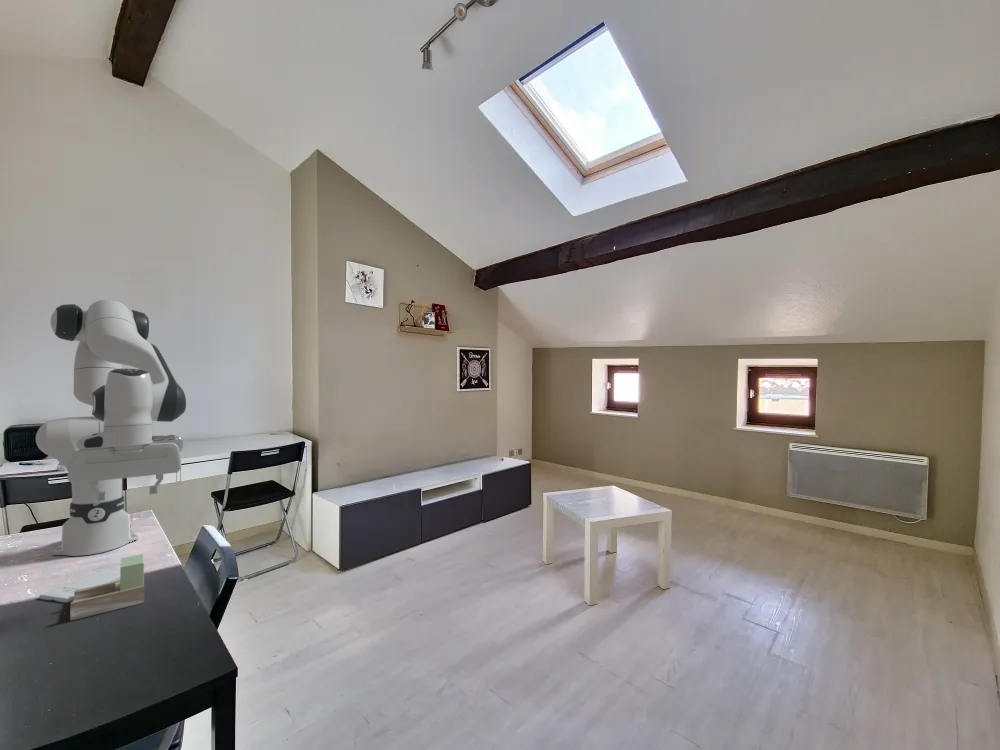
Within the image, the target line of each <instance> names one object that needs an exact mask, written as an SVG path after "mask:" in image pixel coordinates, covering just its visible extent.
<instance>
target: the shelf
mask: <svg viewBox="0 0 1000 750" xmlns="http://www.w3.org/2000/svg"><path fill="white" fill-rule="evenodd" d="M143 603H145V584H144V585H143V586H139V587H134V588H130V589H126V590H121V591H120V580H119V581H115V582H111V583H106V584H102V585H97V586H93V587H88V588H84V589H79V590H76V591H74V600H72V601H70V613H69V615H70V617H69V619H70V620H69V621H70V622H72V621H75V620H79V619H84V618H87V617H92V616H95V615H100V614H103V613H108V612H112V611H115V610H120V609H123V608H128V607H131V606H135V605H139V604H143Z"/></svg>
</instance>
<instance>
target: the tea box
mask: <svg viewBox="0 0 1000 750" xmlns="http://www.w3.org/2000/svg"><path fill="white" fill-rule="evenodd" d="M143 555H144V554H143V553H141V554H140V553H139V554H137V555H131V556H130V555H129V556H125V557H122V558H121V557H120V570H119V571H120V573H119V574H120V580H119V581H120V591H121V590H126V589H130V588H134V587H139V586H143V585H144V586H145V559H144V558H145V557H144V556H143Z"/></svg>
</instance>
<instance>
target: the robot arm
mask: <svg viewBox="0 0 1000 750" xmlns="http://www.w3.org/2000/svg"><path fill="white" fill-rule="evenodd" d="M50 326H51V328H52V331H53V332H54V335H55V336H56V337H57V338H58V339H60V340H64V341H70V342H74V341H76V342H77V341H78V345H77V346H76V347H77V348H76V353H75V356H74V363H73V364H74V365H73V395H74V397H75V399H76V400H78V401H79V402H81V403H83V404H86V405H89V406H92V411H91V415H92V416H71V417H70V416H69V417H63V418H59V419H53V420H52V419H51V420H48V421H46V422H44V423H43V424H41V426H40V427H39V428H38V430H37V432H36V434H35V443H36V446H37V448H38V449H39V450H40V452H42V453H43V454H44V455H47V456H49V457H51V458H54V459H55V460H56V461H58V462H59V463H61V465H62V466H63V467H64V468H65V469H66V471H67V481H68V482H69V483H70V484H71V502H70V504H69V509H68V510H69V516H70V517H69V518H68V519H67V520H66V521H65V522H64V523H63V524H62V527H61V544H59V545H58V546H57V547H56V548H55V549H53V550H52V553H51V554H52V556H70V557H72V556H73V557H79V556H87V555H89V556H90V555H94V554H100V553H104V552H109V551H113V550H115V549H119V548H121V547H123V546H125V545H127V544H129V542H130V543H133V542H135V541H134V540H136V541H138V540H139V536H138V535H137V534H136V533H135V532H133V530H131V527H132V526H131V525H132V524H131V514H129V513H128V512H127V511H125V510H124V508H125V497H124V495H123V479H129V478H139V477H148V476H155V479H156V481H155V483H154V484H153V485H150V486H149V495H157V494H158V487H159V486H160V484H161V483H162V482H163V480H164V475H168V474H175V473H176V474H177V473H179V472H180V471H181V470H182V459H181V458H182V457H181V453H180V452H182V451H183V448H184V440H183V439H182V437H180V436H176V434H169V435H154V431H155V430H154V425H153V422H162V423H163V422H165V423H166V422H168V423H169V422H174V421H175V420H176V419H178V418H179V417H181V416H182V415H184V413H185V412H186V409H187V399H186V398H187V397H186V395H185V391H184V389H183V388H182V387H181V386H180V384H179V383H178V382H177V381H176V379H175V377H174V375H173V373H172V372H171V371H172V370H170V368H169V366H168V364H167V362H166V360H165V359H164V356H163V354H162V353H161V352H160V349H159V348H158V347H157V346H156V345H154V344H153V343H151V342H149V341H147V340H148V337H149V336H150V334H151V329H152V328H151V322H150V319H149V317H148V315H147V314H146V313H145V312H142V311H137V310H134V309H132V310H130V309H129V308H128V307H127V305H126V304H124V303H122V302H120V301H117V300H114V299H101V300H97V301H94V302H93V303H92V304H91V305H76V304H75V303H73V304H71V303H69V304H60V306H57V307H56V308H55V310H54V311H53V312H52V315H51V316H50ZM123 366H128V367H132V368H123ZM137 539H138V540H137ZM132 541H133V542H132Z"/></svg>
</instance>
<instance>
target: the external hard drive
mask: <svg viewBox="0 0 1000 750" xmlns="http://www.w3.org/2000/svg"><path fill="white" fill-rule="evenodd" d="M115 581H120V573H118V572H117V573H115V572H109V571H101V570H100V571H97V572H95V573H92V574H90V575H87V576H85V577H82V578H80V579H78V580H75V581H72V582H70V583H67V584H65V585H63V586H59V587H57V588H55V589H52V590H50V591H48V592H45V593H42V594H39V599H40V600H46V601H55V602H60V603H66V604H67V603H71V602H73V600H74V591H76V590H79V589H84V588H88V587H93V586H97V585H102V584H106V583H111V582H115Z"/></svg>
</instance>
